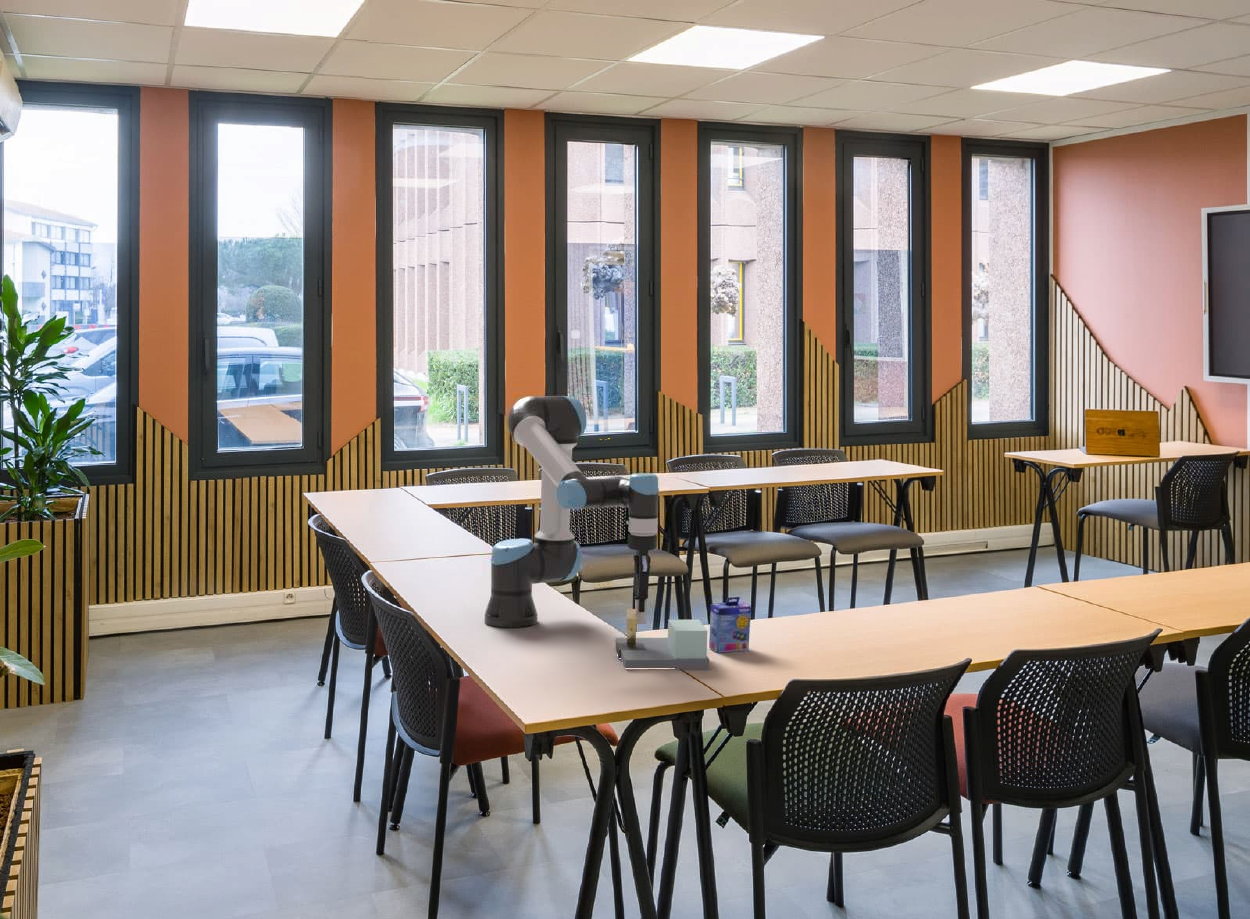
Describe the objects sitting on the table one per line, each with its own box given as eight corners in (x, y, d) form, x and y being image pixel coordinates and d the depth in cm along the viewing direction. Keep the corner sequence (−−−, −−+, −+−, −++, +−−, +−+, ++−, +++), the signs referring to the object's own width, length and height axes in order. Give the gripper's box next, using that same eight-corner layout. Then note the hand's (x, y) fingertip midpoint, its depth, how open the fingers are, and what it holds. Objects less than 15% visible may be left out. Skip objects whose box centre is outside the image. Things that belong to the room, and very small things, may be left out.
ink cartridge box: (717, 653, 305) (719, 599, 303) (707, 648, 310) (709, 594, 308) (750, 650, 309) (752, 596, 307) (740, 645, 314) (742, 592, 312)
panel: (613, 647, 309) (613, 637, 308) (693, 646, 311) (693, 637, 311) (623, 670, 287) (623, 659, 287) (709, 669, 289) (709, 659, 289)
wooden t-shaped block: (626, 650, 294) (626, 618, 294) (626, 639, 305) (626, 608, 305) (636, 650, 294) (637, 618, 294) (635, 639, 305) (636, 609, 305)
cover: (667, 646, 301) (668, 619, 300) (698, 646, 302) (698, 619, 301) (674, 658, 289) (675, 630, 288) (706, 658, 290) (707, 630, 289)
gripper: (625, 529, 307) (623, 617, 309) (631, 537, 294) (629, 629, 296) (653, 529, 307) (651, 617, 310) (660, 537, 295) (658, 629, 297)
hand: (640, 623), depth 303 cm, fingers closed
